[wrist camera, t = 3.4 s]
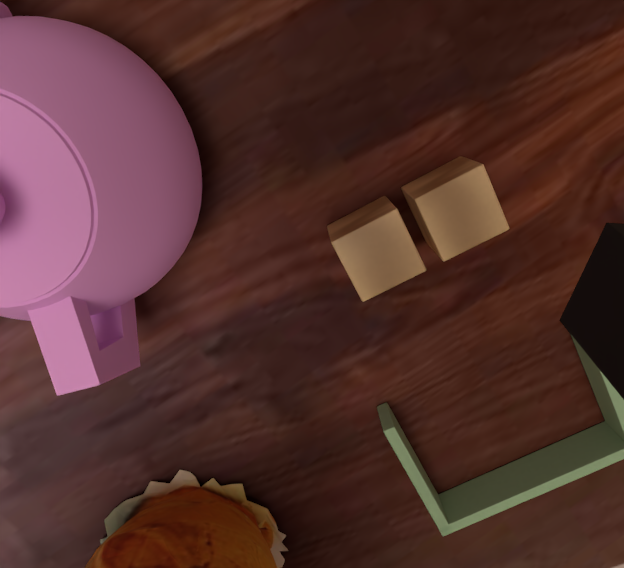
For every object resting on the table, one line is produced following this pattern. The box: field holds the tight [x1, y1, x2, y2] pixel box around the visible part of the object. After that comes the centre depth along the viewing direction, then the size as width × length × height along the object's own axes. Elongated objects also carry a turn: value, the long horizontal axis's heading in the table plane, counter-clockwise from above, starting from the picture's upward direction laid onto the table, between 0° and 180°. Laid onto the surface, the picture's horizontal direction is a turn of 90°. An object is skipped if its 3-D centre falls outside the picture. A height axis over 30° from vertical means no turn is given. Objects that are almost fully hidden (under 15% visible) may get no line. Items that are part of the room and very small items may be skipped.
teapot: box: [0, 2, 202, 396], centre depth 26 cm, size 22×16×12 cm
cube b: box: [327, 196, 426, 302], centre depth 32 cm, size 4×4×4 cm
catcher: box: [377, 335, 624, 536], centre depth 37 cm, size 15×10×3 cm
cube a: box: [401, 156, 509, 262], centre depth 31 cm, size 4×4×4 cm
